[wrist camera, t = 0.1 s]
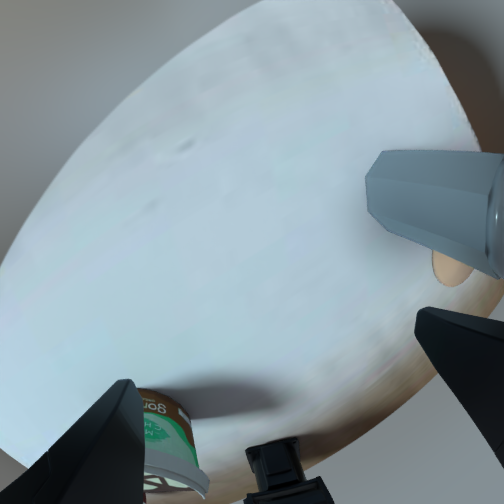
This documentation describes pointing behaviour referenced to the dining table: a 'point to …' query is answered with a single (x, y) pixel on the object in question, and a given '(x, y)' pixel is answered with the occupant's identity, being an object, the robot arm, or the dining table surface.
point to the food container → (169, 447)
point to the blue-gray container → (443, 203)
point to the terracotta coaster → (449, 270)
